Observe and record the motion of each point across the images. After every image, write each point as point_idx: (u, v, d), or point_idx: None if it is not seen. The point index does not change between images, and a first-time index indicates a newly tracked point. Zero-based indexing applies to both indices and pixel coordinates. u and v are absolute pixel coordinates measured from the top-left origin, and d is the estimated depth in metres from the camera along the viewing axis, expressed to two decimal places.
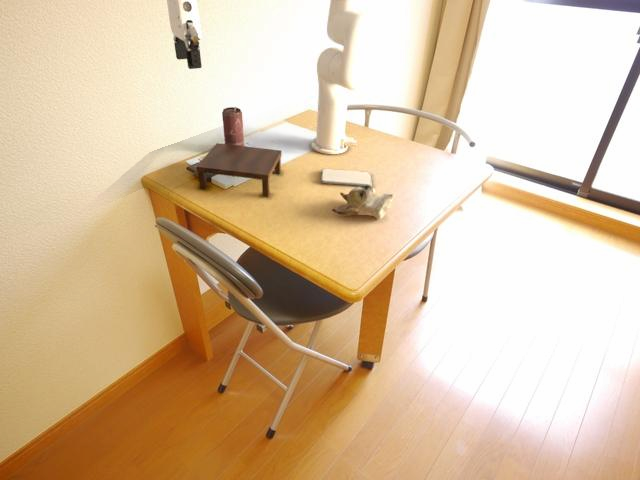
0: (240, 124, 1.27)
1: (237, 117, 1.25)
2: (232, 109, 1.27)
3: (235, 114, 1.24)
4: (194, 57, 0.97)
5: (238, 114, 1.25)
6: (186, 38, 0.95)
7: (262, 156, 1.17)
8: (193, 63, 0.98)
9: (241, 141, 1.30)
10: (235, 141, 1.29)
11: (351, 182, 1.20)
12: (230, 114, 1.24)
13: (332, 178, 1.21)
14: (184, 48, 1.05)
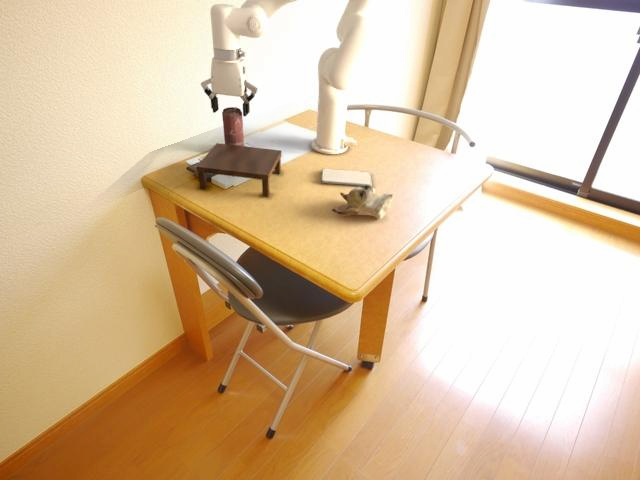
0: (240, 124, 1.27)
1: (237, 117, 1.25)
2: (232, 109, 1.27)
3: (235, 114, 1.24)
4: (248, 106, 1.24)
5: (238, 114, 1.25)
6: None
7: (262, 156, 1.17)
8: (248, 111, 1.25)
9: (241, 141, 1.30)
10: (235, 141, 1.29)
11: (351, 182, 1.20)
12: (230, 114, 1.24)
13: (332, 178, 1.21)
14: (217, 102, 1.26)
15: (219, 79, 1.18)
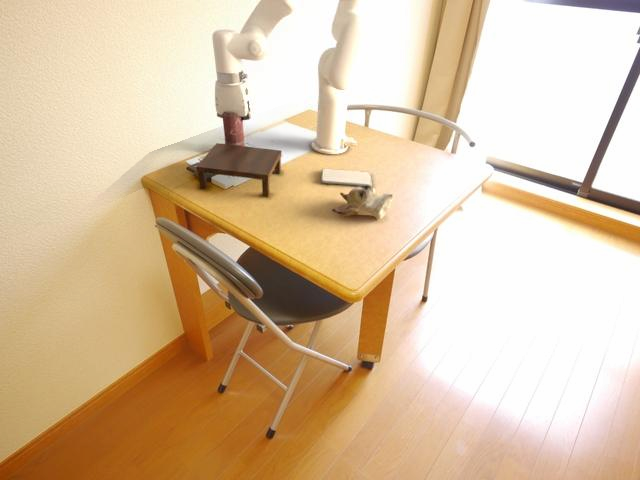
0: (240, 124, 1.27)
1: (237, 117, 1.25)
2: None
3: (235, 114, 1.24)
4: None
5: None
6: (246, 114, 1.25)
7: (262, 156, 1.17)
8: None
9: (241, 141, 1.30)
10: (236, 141, 1.29)
11: (351, 182, 1.20)
12: (230, 114, 1.24)
13: (332, 178, 1.21)
14: None
15: (223, 101, 1.22)
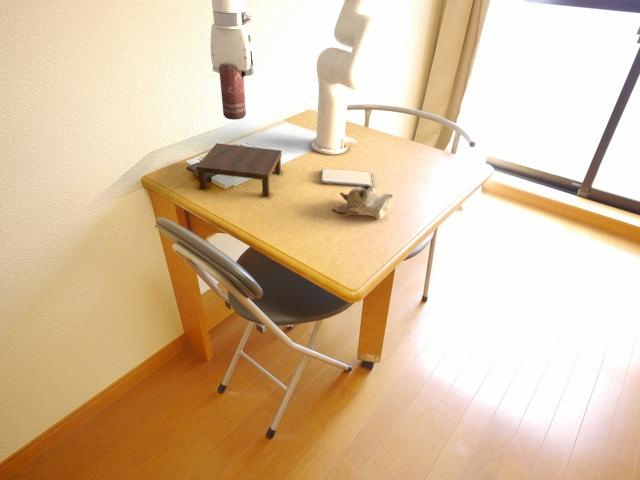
0: (241, 80, 1.05)
1: (237, 71, 1.03)
2: None
3: (234, 67, 1.02)
4: None
5: None
6: (248, 67, 1.03)
7: (262, 156, 1.17)
8: None
9: (242, 102, 1.08)
10: (235, 102, 1.07)
11: (351, 182, 1.20)
12: (228, 67, 1.02)
13: (332, 178, 1.21)
14: None
15: (220, 50, 1.00)
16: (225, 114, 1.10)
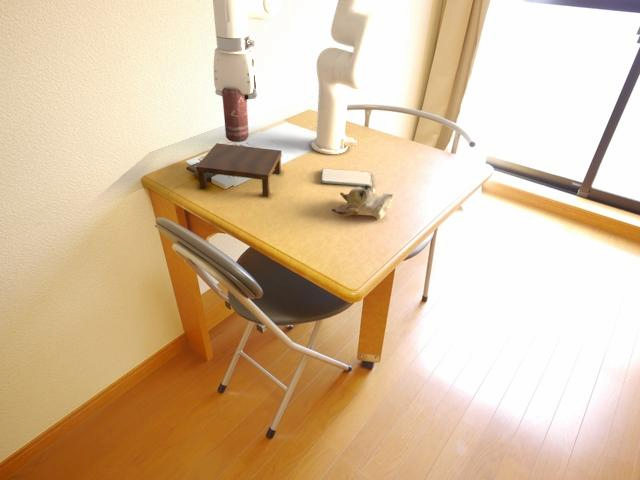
0: (244, 103, 1.04)
1: (240, 94, 1.02)
2: None
3: (238, 91, 1.01)
4: None
5: None
6: None
7: (262, 156, 1.17)
8: None
9: (245, 125, 1.08)
10: (238, 125, 1.06)
11: (351, 182, 1.20)
12: (231, 90, 1.01)
13: (332, 178, 1.21)
14: None
15: (223, 74, 0.99)
16: (227, 137, 1.09)
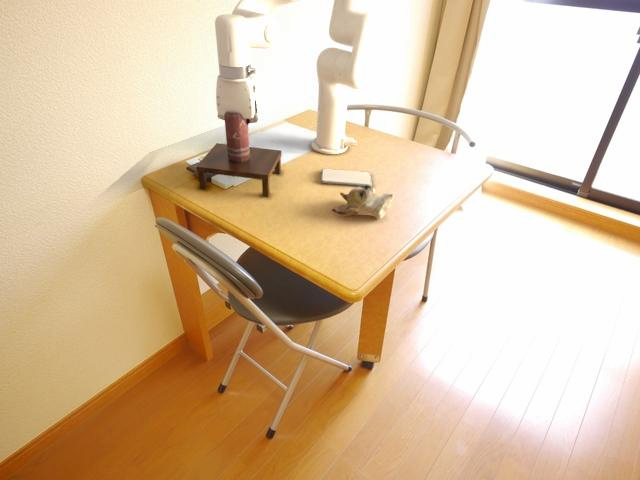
0: (245, 126, 1.08)
1: (242, 118, 1.06)
2: None
3: (239, 114, 1.05)
4: None
5: None
6: None
7: (262, 156, 1.17)
8: None
9: (246, 146, 1.11)
10: (240, 146, 1.10)
11: (351, 182, 1.20)
12: (233, 114, 1.05)
13: (332, 178, 1.21)
14: None
15: (226, 100, 1.03)
16: (229, 158, 1.13)
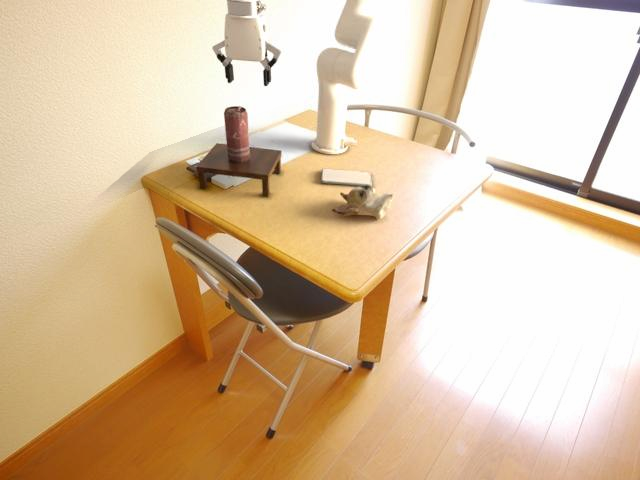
0: (245, 126, 1.08)
1: (242, 118, 1.06)
2: (236, 108, 1.08)
3: (239, 114, 1.05)
4: (269, 74, 1.04)
5: (243, 114, 1.06)
6: (263, 58, 1.01)
7: (262, 156, 1.17)
8: (269, 80, 1.04)
9: (246, 146, 1.11)
10: (239, 146, 1.10)
11: (351, 182, 1.20)
12: (233, 114, 1.05)
13: (332, 178, 1.21)
14: (232, 70, 1.05)
15: (235, 40, 0.98)
16: (229, 158, 1.13)
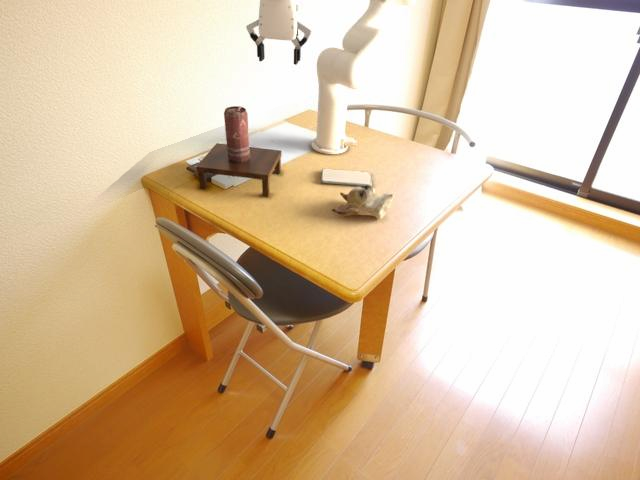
0: (245, 126, 1.08)
1: (242, 118, 1.06)
2: (236, 108, 1.08)
3: (239, 114, 1.05)
4: (299, 53, 1.09)
5: (243, 114, 1.06)
6: None
7: (262, 156, 1.17)
8: (299, 58, 1.10)
9: (246, 146, 1.11)
10: (239, 146, 1.10)
11: (351, 182, 1.20)
12: (233, 114, 1.05)
13: (332, 178, 1.21)
14: (263, 49, 1.11)
15: (269, 19, 1.04)
16: (229, 158, 1.13)
